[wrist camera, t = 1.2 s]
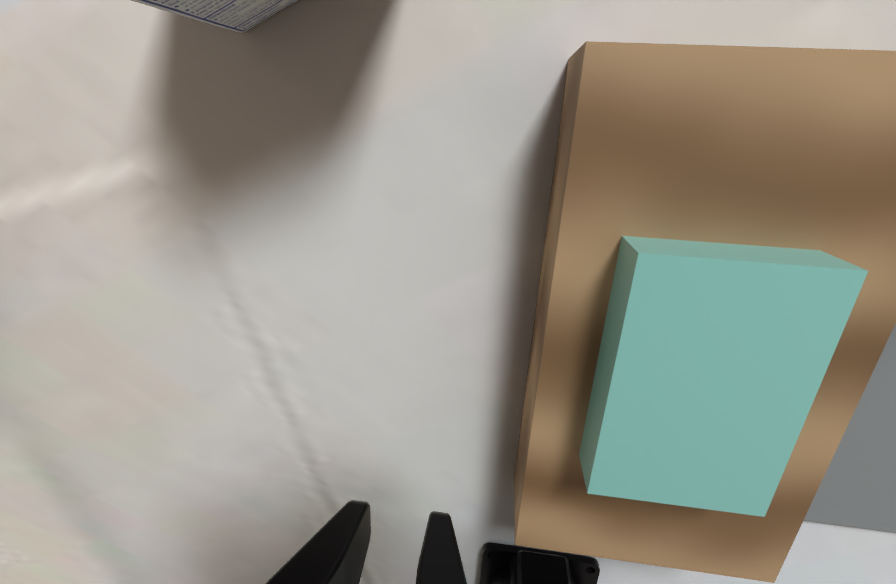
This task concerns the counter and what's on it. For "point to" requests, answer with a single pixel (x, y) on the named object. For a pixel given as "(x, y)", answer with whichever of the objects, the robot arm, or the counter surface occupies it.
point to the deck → (705, 220)
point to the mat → (865, 458)
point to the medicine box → (223, 11)
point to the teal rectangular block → (710, 369)
